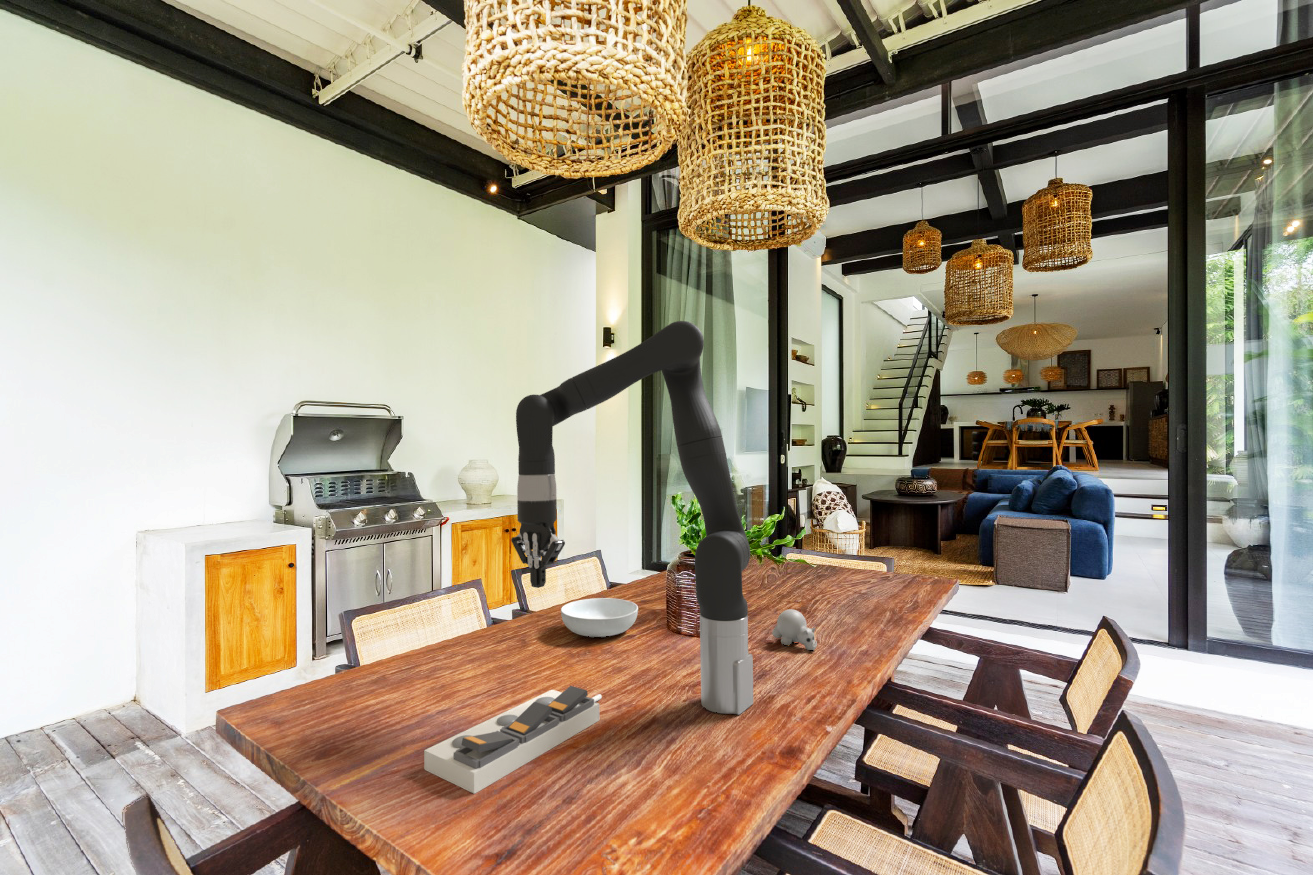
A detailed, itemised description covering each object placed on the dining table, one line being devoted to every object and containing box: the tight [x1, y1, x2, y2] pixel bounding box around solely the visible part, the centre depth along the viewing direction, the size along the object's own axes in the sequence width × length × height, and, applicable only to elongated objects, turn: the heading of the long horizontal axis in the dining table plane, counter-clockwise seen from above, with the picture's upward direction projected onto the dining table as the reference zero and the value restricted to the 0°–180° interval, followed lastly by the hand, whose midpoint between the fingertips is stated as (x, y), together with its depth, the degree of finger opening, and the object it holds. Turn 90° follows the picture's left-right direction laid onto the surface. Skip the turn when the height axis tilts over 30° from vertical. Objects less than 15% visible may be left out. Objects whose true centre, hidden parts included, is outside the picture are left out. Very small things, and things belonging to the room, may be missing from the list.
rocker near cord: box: [547, 685, 589, 714], centre depth 108 cm, size 6×4×1 cm, turn 146°
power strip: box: [423, 689, 603, 795], centre depth 105 cm, size 36×12×4 cm, turn 145°
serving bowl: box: [560, 597, 639, 638], centre depth 162 cm, size 21×21×7 cm
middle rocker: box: [508, 702, 552, 735], centre depth 100 cm, size 6×4×1 cm, turn 146°
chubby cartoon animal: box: [771, 608, 818, 651], centre depth 149 cm, size 7×12×8 cm, turn 34°
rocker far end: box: [462, 732, 512, 752], centre depth 93 cm, size 6×4×1 cm, turn 145°
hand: (538, 586), depth 117 cm, fingers closed
